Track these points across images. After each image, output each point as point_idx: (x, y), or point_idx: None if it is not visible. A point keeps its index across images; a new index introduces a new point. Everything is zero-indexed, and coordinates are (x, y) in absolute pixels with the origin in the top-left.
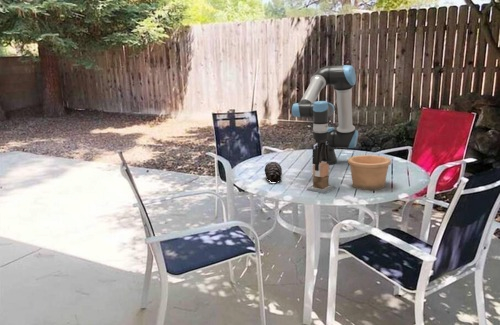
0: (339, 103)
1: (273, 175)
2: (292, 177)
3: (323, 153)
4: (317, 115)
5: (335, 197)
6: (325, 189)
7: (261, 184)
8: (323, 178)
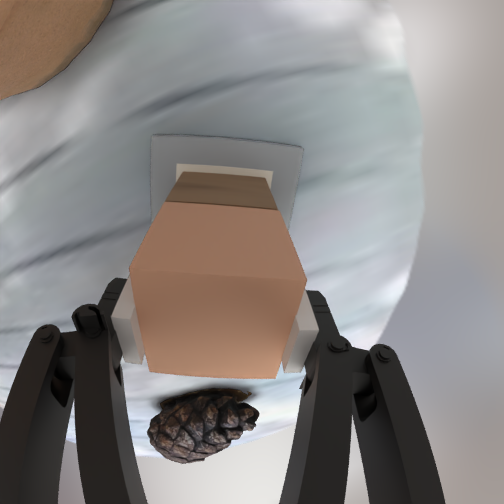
0: None
1: (248, 420)
2: (132, 374)
3: (127, 457)
4: None
5: (353, 65)
6: (260, 161)
7: (271, 406)
8: (269, 205)
